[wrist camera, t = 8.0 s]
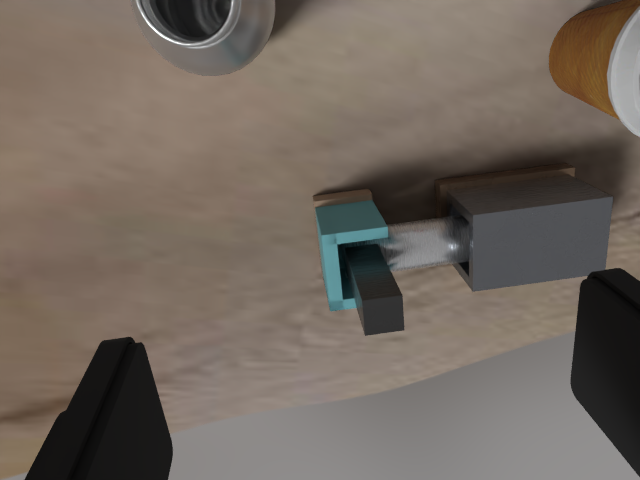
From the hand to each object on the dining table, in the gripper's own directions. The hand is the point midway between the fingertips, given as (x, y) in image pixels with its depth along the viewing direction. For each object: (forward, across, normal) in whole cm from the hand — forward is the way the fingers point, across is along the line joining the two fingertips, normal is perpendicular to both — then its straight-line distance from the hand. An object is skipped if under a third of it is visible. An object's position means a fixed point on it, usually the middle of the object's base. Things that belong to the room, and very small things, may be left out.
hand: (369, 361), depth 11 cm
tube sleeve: (+31, -16, +10) cm, 37 cm away
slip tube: (+29, -8, +10) cm, 32 cm away
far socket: (+31, -3, +10) cm, 33 cm away
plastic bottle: (+32, +4, -8) cm, 33 cm away
